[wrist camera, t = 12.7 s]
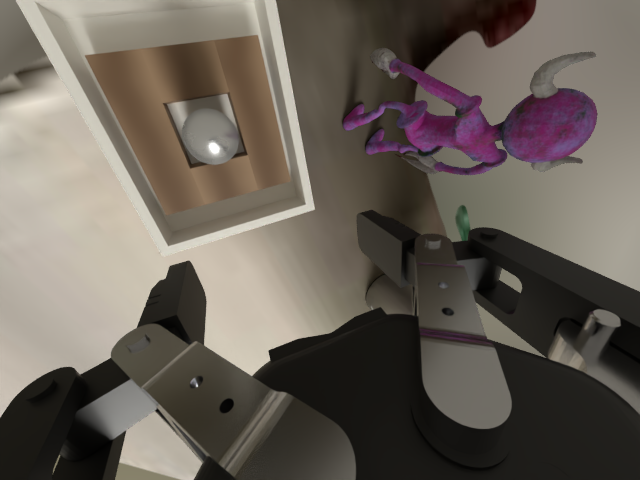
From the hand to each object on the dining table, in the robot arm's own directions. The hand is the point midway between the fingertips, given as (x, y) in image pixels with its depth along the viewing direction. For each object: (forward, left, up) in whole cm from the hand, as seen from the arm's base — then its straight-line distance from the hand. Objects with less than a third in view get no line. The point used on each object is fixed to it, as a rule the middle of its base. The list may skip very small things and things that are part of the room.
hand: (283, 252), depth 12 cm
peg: (+2, -5, -22) cm, 23 cm away
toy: (-19, -2, -23) cm, 30 cm away
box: (+2, -5, -23) cm, 24 cm away
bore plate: (+2, -5, -23) cm, 24 cm away
